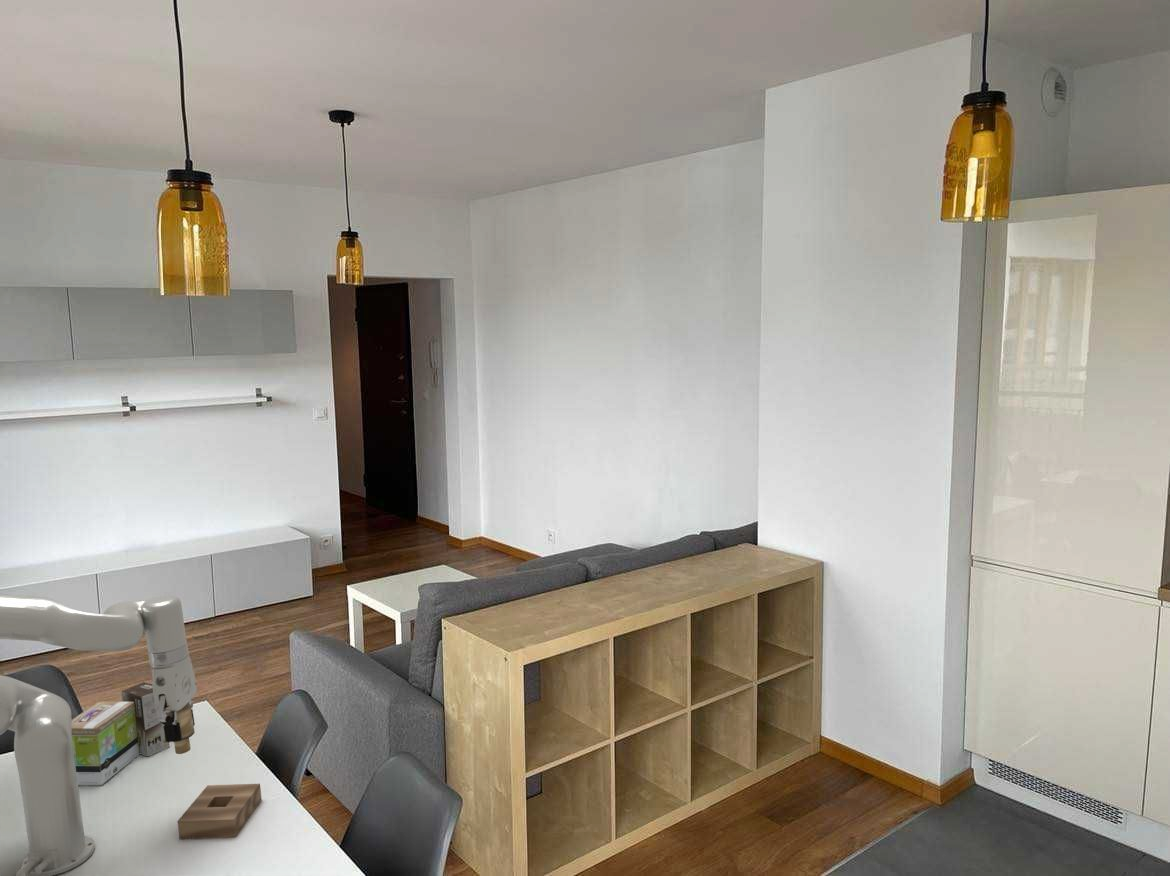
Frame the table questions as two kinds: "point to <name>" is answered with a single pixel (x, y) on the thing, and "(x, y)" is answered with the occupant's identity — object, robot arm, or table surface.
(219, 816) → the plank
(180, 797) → the table surface
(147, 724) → the coffee box
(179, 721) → the peg
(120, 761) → the tea box
